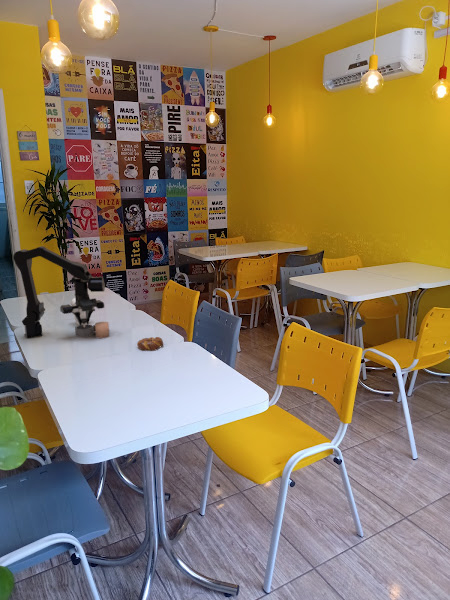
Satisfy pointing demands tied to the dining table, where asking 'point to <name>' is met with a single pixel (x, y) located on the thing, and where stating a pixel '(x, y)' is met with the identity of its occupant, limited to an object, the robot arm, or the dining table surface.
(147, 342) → the pretzel
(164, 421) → the dining table surface
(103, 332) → the peach rounded capsule
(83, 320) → the plunger
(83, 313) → the soft serve ice cream cone
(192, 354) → the dining table surface
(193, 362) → the dining table surface
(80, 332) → the gray octagonal container
